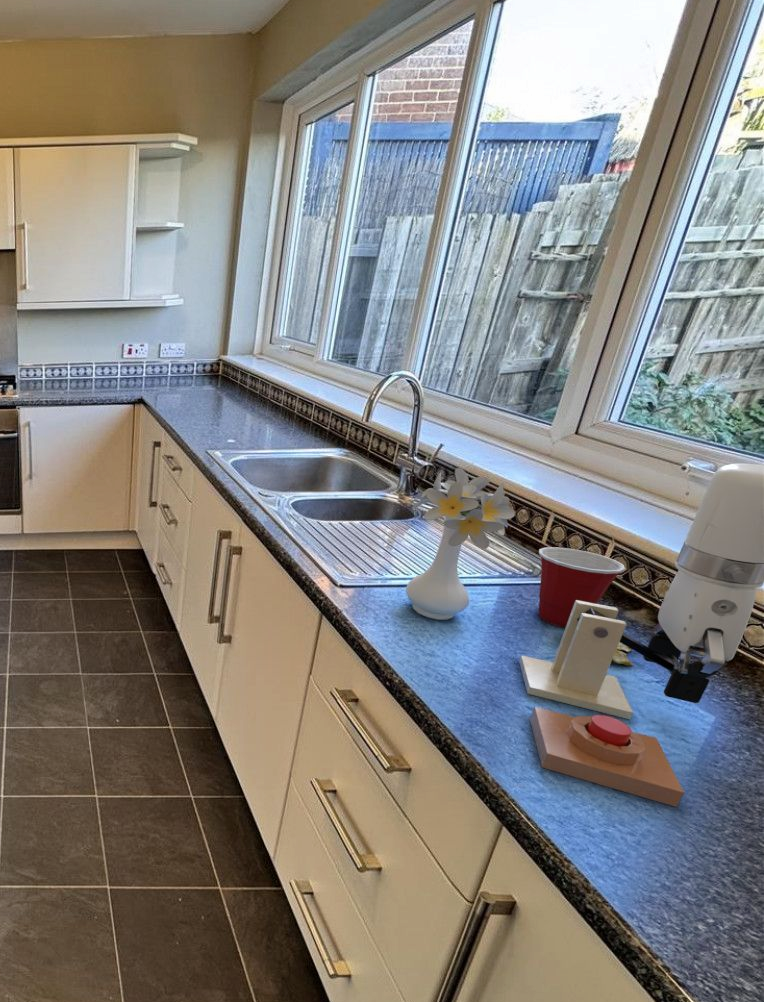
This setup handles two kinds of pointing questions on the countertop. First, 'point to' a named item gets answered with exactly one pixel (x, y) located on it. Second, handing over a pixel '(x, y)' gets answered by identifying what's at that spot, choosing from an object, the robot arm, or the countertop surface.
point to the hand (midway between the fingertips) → (668, 679)
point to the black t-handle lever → (644, 649)
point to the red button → (609, 730)
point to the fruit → (621, 655)
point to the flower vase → (456, 540)
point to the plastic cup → (572, 581)
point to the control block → (604, 757)
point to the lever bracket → (582, 664)
